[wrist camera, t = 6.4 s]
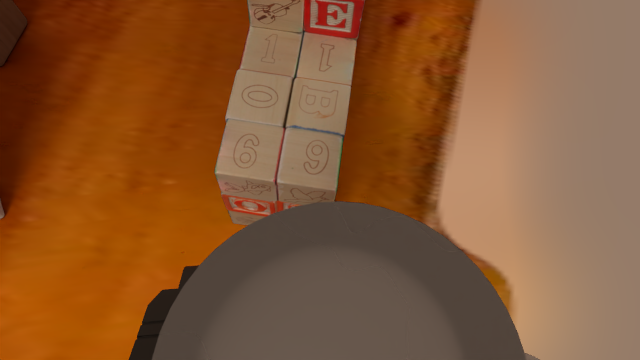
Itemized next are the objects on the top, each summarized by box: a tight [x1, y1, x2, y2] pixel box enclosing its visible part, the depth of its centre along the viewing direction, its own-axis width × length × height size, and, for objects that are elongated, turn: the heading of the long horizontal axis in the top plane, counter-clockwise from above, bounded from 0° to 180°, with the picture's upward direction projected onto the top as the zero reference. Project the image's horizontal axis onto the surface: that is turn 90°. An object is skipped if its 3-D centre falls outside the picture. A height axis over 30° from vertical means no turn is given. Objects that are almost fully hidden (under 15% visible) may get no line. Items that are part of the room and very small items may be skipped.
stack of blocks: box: [215, 0, 365, 225], centre depth 30 cm, size 21×6×12 cm, turn 172°
